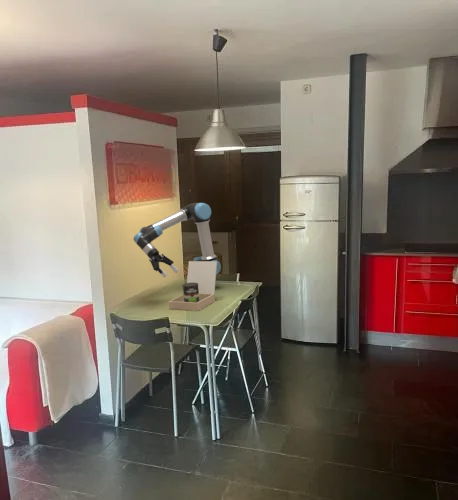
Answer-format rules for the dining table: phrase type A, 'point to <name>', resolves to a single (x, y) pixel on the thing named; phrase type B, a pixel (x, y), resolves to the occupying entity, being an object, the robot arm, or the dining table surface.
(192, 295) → the coffee can
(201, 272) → the mailer box
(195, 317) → the dining table surface
